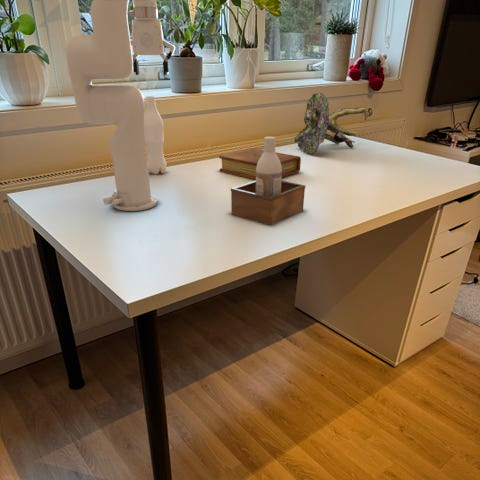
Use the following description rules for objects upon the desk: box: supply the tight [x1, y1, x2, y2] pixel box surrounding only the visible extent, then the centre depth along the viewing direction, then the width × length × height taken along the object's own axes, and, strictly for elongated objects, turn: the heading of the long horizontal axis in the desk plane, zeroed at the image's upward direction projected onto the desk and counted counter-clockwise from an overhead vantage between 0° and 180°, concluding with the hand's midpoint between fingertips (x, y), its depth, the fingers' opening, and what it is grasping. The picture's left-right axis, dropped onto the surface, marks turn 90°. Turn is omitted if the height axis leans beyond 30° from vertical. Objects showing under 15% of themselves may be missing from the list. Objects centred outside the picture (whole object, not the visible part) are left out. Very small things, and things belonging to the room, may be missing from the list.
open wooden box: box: [230, 180, 306, 226], centre depth 125 cm, size 16×14×7 cm
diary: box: [218, 147, 302, 181], centre depth 164 cm, size 23×19×6 cm
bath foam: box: [255, 135, 283, 197], centre depth 122 cm, size 7×7×20 cm
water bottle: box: [144, 96, 168, 175], centre depth 158 cm, size 7×7×25 cm
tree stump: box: [294, 92, 367, 155], centre depth 194 cm, size 23×26×35 cm
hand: (151, 74), depth 154 cm, fingers open, 9 cm apart
